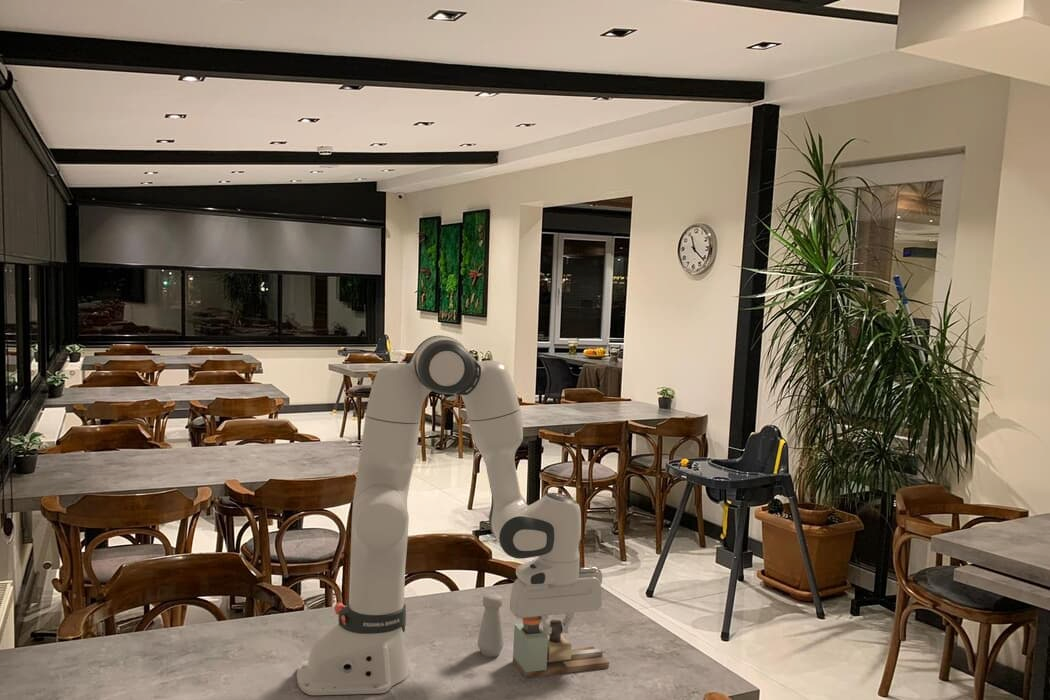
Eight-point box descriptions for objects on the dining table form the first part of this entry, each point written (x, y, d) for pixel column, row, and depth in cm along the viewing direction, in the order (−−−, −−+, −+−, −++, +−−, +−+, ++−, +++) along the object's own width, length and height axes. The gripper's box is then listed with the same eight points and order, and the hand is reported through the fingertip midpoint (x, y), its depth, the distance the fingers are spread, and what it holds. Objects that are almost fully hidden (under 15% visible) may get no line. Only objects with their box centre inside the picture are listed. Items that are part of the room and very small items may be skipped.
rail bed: (525, 677, 169) (525, 667, 169) (512, 661, 176) (513, 651, 176) (608, 667, 175) (609, 657, 175) (592, 651, 183) (593, 642, 183)
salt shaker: (499, 660, 176) (502, 601, 176) (474, 657, 177) (476, 598, 177) (505, 649, 182) (508, 592, 181) (481, 646, 183) (483, 589, 182)
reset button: (525, 644, 170) (526, 622, 170) (519, 637, 174) (520, 615, 174) (542, 643, 172) (543, 620, 171) (535, 635, 175) (536, 614, 175)
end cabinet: (525, 672, 169) (527, 639, 168) (513, 655, 176) (514, 624, 176) (546, 669, 170) (548, 636, 170) (532, 653, 178) (534, 622, 177)
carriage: (548, 661, 171) (550, 628, 171) (538, 648, 177) (539, 617, 177) (570, 658, 173) (572, 626, 172) (559, 646, 179) (560, 615, 178)
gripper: (596, 561, 181) (593, 622, 181) (508, 568, 173) (505, 631, 174) (608, 571, 175) (605, 634, 175) (518, 578, 168) (515, 643, 168)
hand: (555, 633), depth 175 cm, fingers closed on carriage, 2 cm apart
